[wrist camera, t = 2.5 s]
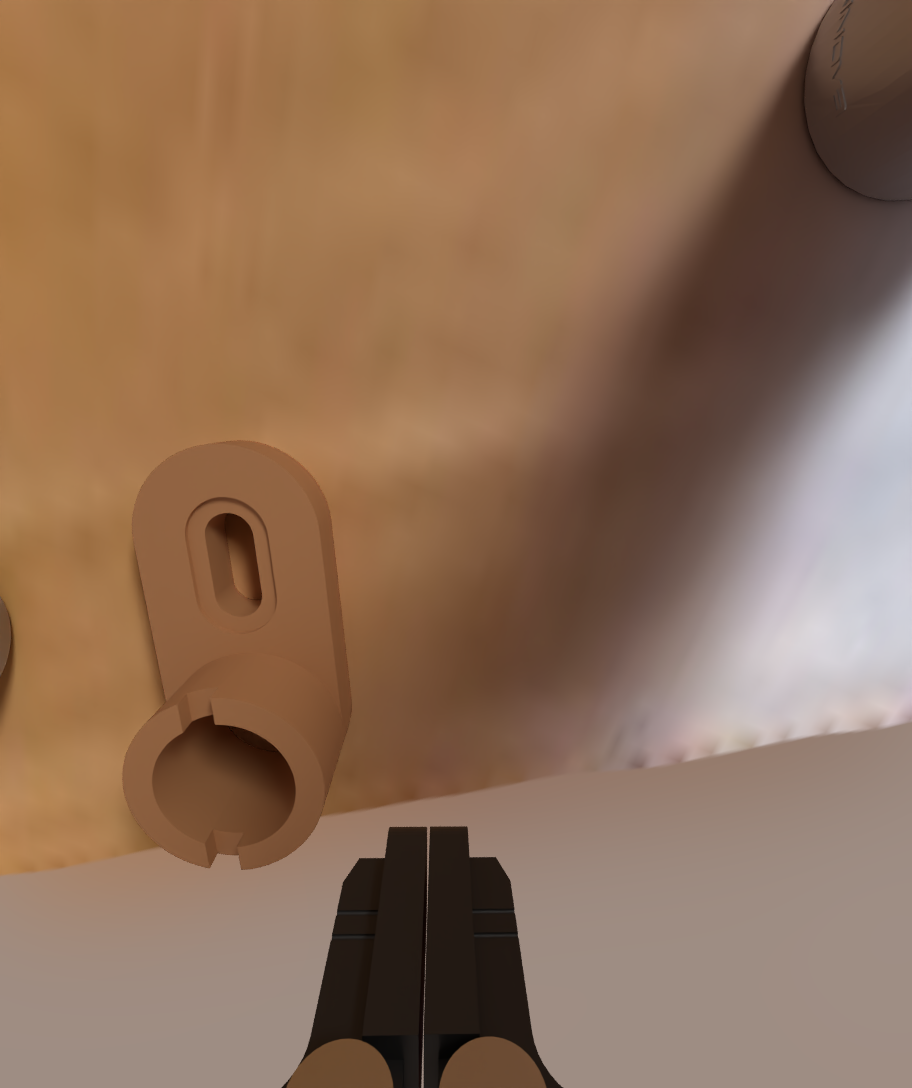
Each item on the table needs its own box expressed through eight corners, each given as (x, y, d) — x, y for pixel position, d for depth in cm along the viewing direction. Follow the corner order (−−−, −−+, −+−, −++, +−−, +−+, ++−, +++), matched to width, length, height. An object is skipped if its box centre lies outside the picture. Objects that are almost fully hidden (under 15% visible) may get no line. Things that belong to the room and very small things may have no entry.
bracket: (359, 763, 30) (334, 864, 24) (210, 772, 30) (143, 875, 24) (322, 435, 26) (280, 444, 19) (148, 445, 26) (45, 457, 19)
